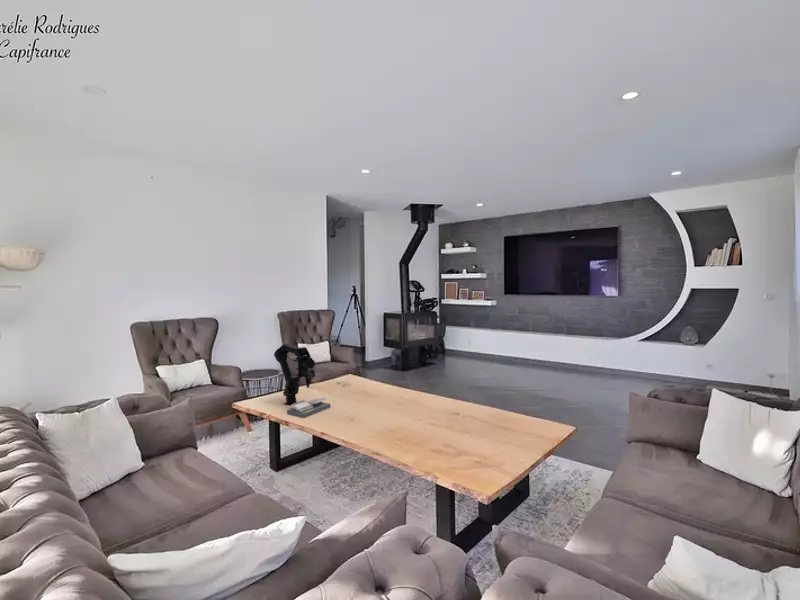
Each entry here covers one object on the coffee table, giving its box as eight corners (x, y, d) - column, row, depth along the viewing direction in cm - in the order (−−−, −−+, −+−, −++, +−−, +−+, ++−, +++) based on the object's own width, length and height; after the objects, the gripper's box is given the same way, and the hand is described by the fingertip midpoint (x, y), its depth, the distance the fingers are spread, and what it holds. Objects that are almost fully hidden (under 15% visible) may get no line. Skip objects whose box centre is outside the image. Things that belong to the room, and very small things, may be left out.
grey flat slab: (291, 406, 257) (291, 404, 257) (302, 402, 265) (303, 400, 265) (301, 412, 252) (301, 410, 252) (312, 408, 261) (313, 405, 260)
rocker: (305, 405, 267) (305, 402, 267) (316, 401, 275) (315, 398, 275) (315, 403, 262) (314, 401, 262) (325, 399, 271) (325, 397, 271)
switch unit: (287, 414, 258) (286, 408, 258) (314, 404, 278) (313, 399, 278) (304, 418, 250) (303, 412, 250) (330, 407, 270) (330, 402, 270)
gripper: (300, 370, 258) (301, 394, 259) (320, 365, 274) (321, 387, 275) (288, 368, 264) (289, 392, 265) (308, 363, 280) (309, 385, 281)
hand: (302, 389), depth 271 cm, fingers open, 9 cm apart
